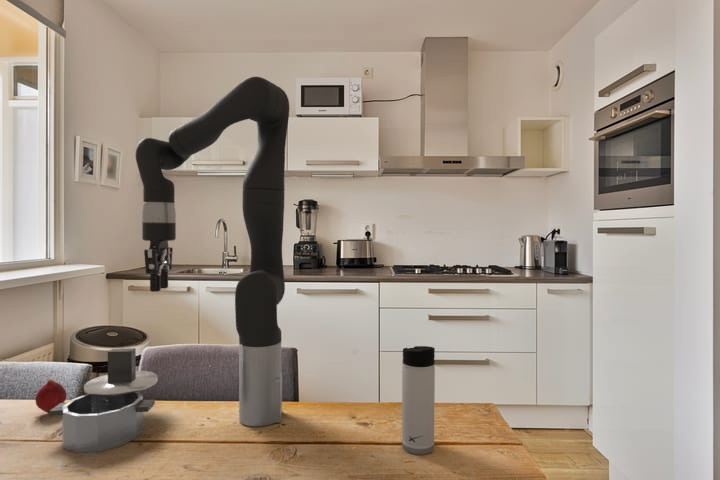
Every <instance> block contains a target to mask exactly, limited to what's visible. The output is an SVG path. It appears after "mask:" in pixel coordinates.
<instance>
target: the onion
mask: <svg viewBox="0 0 720 480" xmlns="http://www.w3.org/2000/svg"><path fill="white" fill-rule="evenodd" d="M66 400H67V391H66V389H65V388H64V386H63V385H62V384H61V383H59V382H56V381H55V380H53V378H48V379H47V382H46V383H45V384H44V385H43V386H42V387H41V388H40V389H39V390H38V391H37V393H36V395H35V405H36V406H37V407H38V408H39V409H40V410H41V411H43V412H45V413H47V414H49V413H50V410H51V409H53V408H54V407H56V406H57V405H58V404H60V403H66Z"/></svg>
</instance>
